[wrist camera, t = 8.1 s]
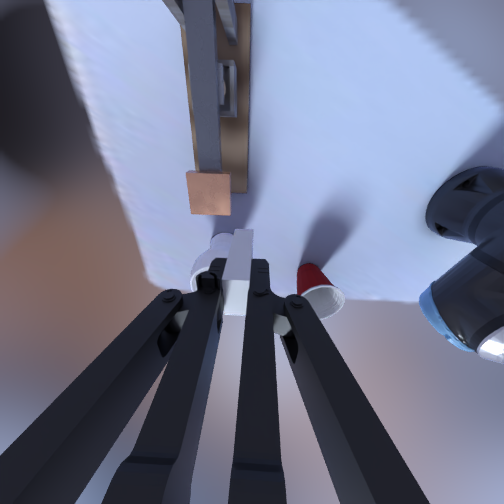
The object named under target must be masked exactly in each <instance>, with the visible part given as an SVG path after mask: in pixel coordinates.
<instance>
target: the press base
mask: <svg viewBox="0 0 504 504" xmlns="http://www.w3.org/2000/svg"><path fill="white" fill-rule="evenodd" d="M162 1H163V2H164V3H165V5H166V6H167V7H168V9H169V10H170V11H171V13H172V14H173V16H174V17H175V18H176V20H177V21H178V22H179V24H180V27H181V37H182V46H183V56H184V65H185V75H186V84H187V93H188V103H189V112H190V122H191V131H192V141H193V150H194V159H195V169H196V171H199V161H198V151H197V141H196V131H195V121H194V111H193V101H192V91H191V81H190V71H189V60H188V50H187V40H186V30H185V20H184V10H183V0H162ZM215 8H216V32H217V55H218V63H222V64H223V78H224V82H225V86H226V93H225V97H224V105H220V127H221V151H222V172H231V193H247V169H248V121H249V73H250V26H251V4H248V3H234V0H215Z"/></svg>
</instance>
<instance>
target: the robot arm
mask: <svg viewBox="0 0 504 504" xmlns="http://www.w3.org/2000/svg"><path fill="white" fill-rule="evenodd" d="M426 223H427V226H428V227H429V228H430V230H432V231H433V232H435V233H436V234H438V235H440V236H442V237H444V238H447V239H452V240H458V241H463V242H468V243H473V244H475V245H477V247H476V248H475V249H474V250H473V251H471V252H470V253H469V254H468V255H466V256H465V257H464V258H463V259H462V260H460V261H459V262H458V263H457V264H456V265H454V266H453V267H452V268H451V269H450V270H448V271H447V272H446V273H445V274H443V275H442V276H441V277H440V278H439V279H437V280H436V281H433V282H432V283H431V284H430V286H429V287H428V288H427V289H426V290H425V291H424V292H423V293H422V294H421V295H420V297H419V305H420V308H421V310H422V312H423V314H424V315H425V317H426V318H427V320H428V321H429V322H430V323H431V325H432V326H433V327H434V328H435V329H436V330H437V331H438V332H439V333H440V334H442V335H444V336H445V338H446V339H447V340H448V341H449V342H451V343H452V344H453V345H455V346H456V347H458V348H460V349H462V350H464V351H468V352H472V351H473V352H476V353H477V354H478V355H479V356H481V357H482V358H484V359H487V360H491V361H495V362H499V363H502V364H504V169H500V168H494V167H487V166H486V167H476V168H472V169H469V170H466V171H464V172H462V173H460V174H458V175H456V176H455V177H453V178H452V179H450V180H449V181H448V182H446V183H445V184H444V185H443V186H442V187H441V188H440V189H439V190H438V191H437V192H436V193H435V195H434V196H433V197H432V199H431V201H430V203H429V205H428V207H427V210H426ZM252 258H253V229H235V231H234V235H233V239H232V243H231V246H230V250H229V254H228V258H215V259H214V260H213V261H212V262H211V264H210V267H209V269H208V271H204V272H201V273H200V274H198V275H197V276H196V277H195V278H196V285H197V291H195V292H192V293H187V294H182V293H181V292H180V291H179V290H177V289H168V290H165V291H163V292H161V293H160V294H159V295H158V296H157V297H156V298H155V299H154V300H153V301H152V302H151V303H150V304H149V305H148V306H147V307H146V308H145V309H144V310H143V311H142V312H141V313H140V314H139V315H138V316H137V317H136V318H135V319H134V320H133V321H132V322H131V323H130V324H129V325H128V326H127V327H126V328H125V329H124V330H123V331H122V332H121V333H120V334H119V335H118V336H117V337H116V338H115V339H114V341H112V342H111V344H109V346H108V347H107V348H106V349H105V350H104V351H103V352H102V353H101V354H100V355H99V356H98V357H97V358H96V359H95V360H94V361H93V362H92V363H91V364H90V365H89V366H88V367H87V368H86V369H85V370H84V371H83V372H82V373H81V374H80V375H79V376H78V377H77V378H76V379H75V380H74V381H73V382H72V383H71V384H70V385H69V386H68V387H67V388H66V389H65V390H64V391H63V392H62V393H61V394H60V395H59V396H58V397H57V398H56V399H55V400H54V402H53V403H51V405H50V406H49V407H48V408H47V409H46V410H45V411H44V412H43V413H42V414H41V415H40V416H39V417H38V418H37V419H36V420H35V421H34V422H33V423H32V424H31V425H30V426H29V427H28V428H27V429H26V430H25V431H24V432H23V433H22V434H21V435H20V436H19V437H18V438H17V439H16V440H15V441H14V442H13V443H12V444H11V445H10V446H9V447H8V448H7V449H6V450H5V451H4V452H3V453H2V454H1V455H0V504H75V502H76V500H77V499H78V498H79V496H80V495H81V493H82V492H83V490H84V489H85V487H86V485H87V484H88V483H89V481H90V480H91V478H92V476H93V475H94V473H95V472H96V470H97V469H98V467H99V466H100V464H101V463H102V461H103V460H104V458H105V457H106V455H107V454H108V452H109V451H110V449H111V447H112V446H113V444H114V443H115V441H116V440H117V438H118V437H119V435H120V434H121V432H122V431H123V429H124V428H125V426H126V424H127V423H128V422H129V420H130V418H131V417H132V416H133V414H134V412H135V411H136V409H137V408H138V406H139V405H140V403H141V402H142V400H143V399H144V397H145V396H146V394H147V393H148V391H149V390H150V388H151V387H152V385H153V383H154V382H155V380H156V379H157V377H158V376H159V374H160V373H161V371H162V370H163V368H164V367H165V365H166V364H167V362H168V364H167V366H166V369H165V371H164V374H163V376H162V379H161V381H160V384H159V386H158V389H157V391H156V394H155V396H154V399H153V401H152V404H151V406H150V409H149V411H148V414H147V416H146V419H145V421H144V424H143V426H142V429H141V431H140V434H139V436H138V439H137V441H136V444H135V446H134V448H133V451H132V452H131V454H130V455H129V456H128V457H127V458H126V459H125V460H124V461H123V462H122V463H121V464H120V466H119V467H118V469H117V470H116V473H115V474H114V476H113V478H112V480H111V483H110V485H109V487H108V489H107V492H106V494H105V496H104V499H103V501H102V503H101V504H189V503H190V494H191V481H192V475H193V470H194V465H195V460H196V455H197V450H198V444H199V440H200V435H201V429H202V424H203V419H204V414H205V409H206V404H207V399H208V394H209V389H210V383H211V379H212V374H213V369H214V364H215V358H216V353H217V349H218V343H219V338H220V333H221V328H222V323H223V318H222V315H223V311H224V314H225V315H243V316H246V318H245V330H244V342H243V353H242V364H241V376H240V387H239V399H238V409H237V421H236V432H235V444H234V455H233V464H232V470H231V478H230V488H229V499H228V504H287V502H286V488H285V478H284V472H283V468H282V462H281V449H280V433H279V415H278V397H277V381H276V362H275V345H274V333H276V334H279V335H280V338H281V341H282V344H283V346H284V349H285V352H286V355H287V358H288V360H289V363H290V366H291V369H292V371H293V374H294V377H295V380H296V383H297V385H298V388H299V391H300V393H301V396H302V399H303V402H304V405H305V407H306V410H307V413H308V416H309V419H310V421H311V424H312V426H313V430H314V432H315V435H316V438H317V441H318V443H319V446H320V449H321V452H322V454H323V457H324V460H325V463H326V466H327V468H328V471H329V474H330V477H331V479H332V482H333V485H334V488H335V490H336V493H337V496H338V499H339V501H340V504H430V503H429V501H428V500H427V498H426V496H425V495H424V493H423V491H422V490H421V488H420V486H419V485H418V483H417V481H416V480H415V478H414V476H413V475H412V473H411V471H410V470H409V468H408V466H407V465H406V463H405V461H404V460H403V458H402V456H401V455H400V453H399V451H398V450H397V448H396V446H395V445H394V443H393V441H392V440H391V438H390V436H389V434H388V433H387V431H386V430H385V428H384V426H383V425H382V423H381V421H380V420H379V418H378V416H377V415H376V413H375V411H374V410H373V408H372V406H371V404H370V403H369V401H368V399H367V398H366V396H365V394H364V393H363V391H362V389H361V388H360V386H359V384H358V383H357V381H356V379H355V378H354V376H353V374H352V373H351V371H350V370H349V368H348V366H347V364H346V363H345V362H344V359H343V358H342V356H341V354H340V353H339V351H338V350H337V348H336V347H335V344H334V343H333V342H332V340H331V338H330V336H329V334H328V333H327V332H326V329H325V328H324V326H323V324H322V323H321V321H320V319H319V318H318V316H317V314H316V313H315V311H314V309H313V308H312V306H311V304H310V303H309V301H308V300H307V299H306V298H305V297H303V296H301V295H298V294H292V295H288V296H287V297H286V298H282V297H279V296H277V295H275V294H274V293H273V292H272V291H271V289H270V277H269V263H268V262H267V261H266V259H252Z"/></svg>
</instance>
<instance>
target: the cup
mask: <svg viewBox="0 0 504 504" xmlns="http://www.w3.org/2000/svg"><path fill="white" fill-rule="evenodd" d="M232 239H233V235H232V234H230V233H220V234H217V235H215V236H214V237H213V238H212V240H211V242H210V249H208V250H207V251H205V252H204V253H202V254H201V255H200V256H199V257H198V258H197V260H196V261H195V263H194V265H193V268H192V270H191V279H190V286H191V289H192V291H193V292H195V291H197V285H196V278H195V277H196V276H197V275H198V274H200V273H201V272H204V271H208V269H209V267H210V264H211V262H212V261H213V260H214V259H215V258H228V254H229V250H230V246H231V243H232Z"/></svg>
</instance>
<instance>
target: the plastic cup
mask: <svg viewBox="0 0 504 504" xmlns="http://www.w3.org/2000/svg"><path fill="white" fill-rule="evenodd" d="M297 294H298V295H301V296H303V297H305V298H306V299H307V300H308V301H309V303H310V304H311V306H312V308H313V309H314V311H315V313H316V314H317V316H318V318H319V319H320V320H321V319H325V318H329V317H330V316H332V315H334V314H336V313H337V312H338V311H339V310H340V309H341V308H342V307H343V304H344V302H345V296H344V293H343V292H342V291H341V290H340V289H339V288H338V287H335V286H334V285H333V284H332V283H331V282H330V281H329V280H328V278H327V277H326V276H325V275H324V274H323V273H322V271H321V270H320V269H319V268H318V267H317V266H316V265H314V264H311V263H307V264H304V265H302V266H301V267H300V268H299V269H298V272H297Z"/></svg>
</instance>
